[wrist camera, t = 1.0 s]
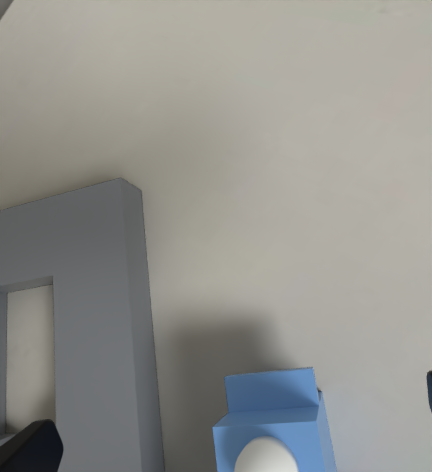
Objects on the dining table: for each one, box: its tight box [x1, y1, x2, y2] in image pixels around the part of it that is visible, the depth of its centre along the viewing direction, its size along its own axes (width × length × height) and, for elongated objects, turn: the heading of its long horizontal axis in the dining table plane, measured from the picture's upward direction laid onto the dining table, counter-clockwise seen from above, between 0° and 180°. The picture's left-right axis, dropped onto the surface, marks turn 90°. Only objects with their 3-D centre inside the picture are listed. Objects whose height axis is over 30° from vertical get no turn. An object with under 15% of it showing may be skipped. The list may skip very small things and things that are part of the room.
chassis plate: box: [0, 178, 165, 472], centre depth 23 cm, size 19×16×2 cm
